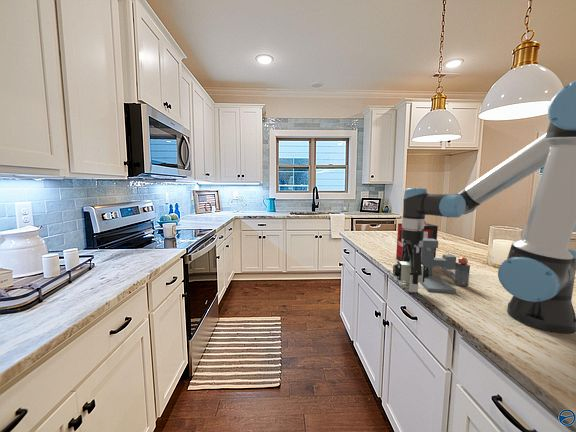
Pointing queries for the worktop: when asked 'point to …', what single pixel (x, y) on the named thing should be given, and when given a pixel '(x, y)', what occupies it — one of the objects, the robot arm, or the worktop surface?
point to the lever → (460, 272)
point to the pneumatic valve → (404, 269)
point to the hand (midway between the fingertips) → (408, 286)
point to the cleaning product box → (429, 233)
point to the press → (429, 261)
